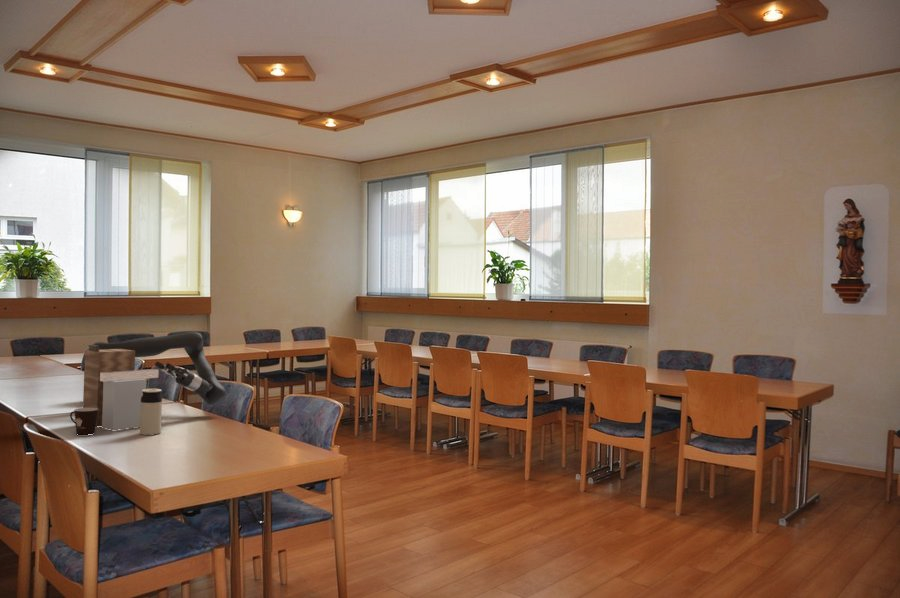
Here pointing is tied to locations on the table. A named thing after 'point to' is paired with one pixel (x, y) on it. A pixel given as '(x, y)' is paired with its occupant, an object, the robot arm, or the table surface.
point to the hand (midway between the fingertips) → (161, 364)
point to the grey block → (122, 403)
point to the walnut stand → (102, 363)
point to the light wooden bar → (128, 375)
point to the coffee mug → (85, 420)
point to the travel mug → (150, 411)
